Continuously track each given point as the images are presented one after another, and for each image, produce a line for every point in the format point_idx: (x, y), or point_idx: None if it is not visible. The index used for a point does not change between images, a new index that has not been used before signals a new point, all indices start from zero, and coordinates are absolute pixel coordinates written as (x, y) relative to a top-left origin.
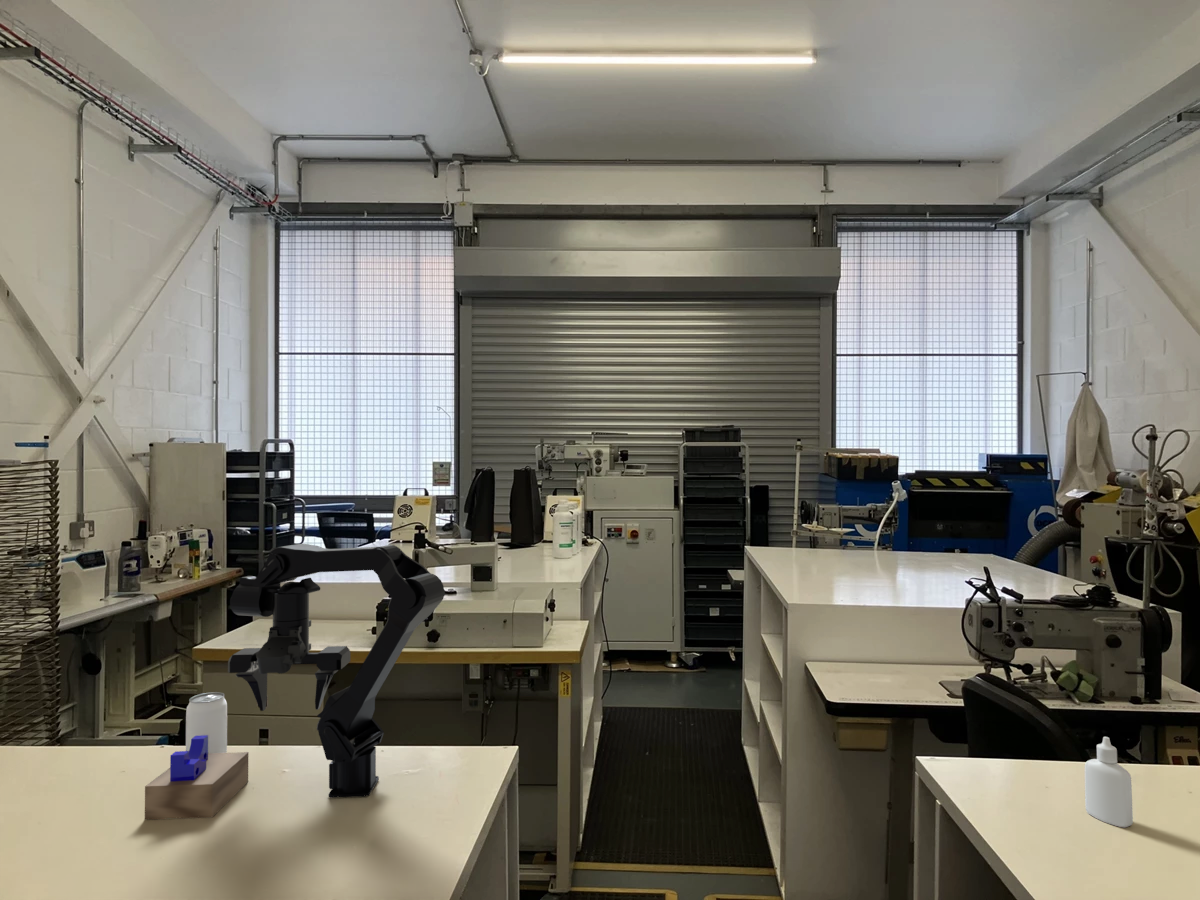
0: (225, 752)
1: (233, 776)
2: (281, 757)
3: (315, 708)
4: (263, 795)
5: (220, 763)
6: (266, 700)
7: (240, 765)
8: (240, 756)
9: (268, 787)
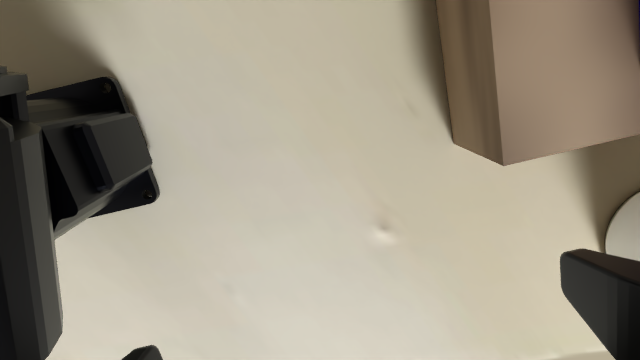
0: None
1: (469, 33)
2: (448, 305)
3: (151, 348)
4: (346, 65)
5: (561, 37)
6: (610, 351)
7: (484, 93)
8: (513, 119)
9: (365, 119)
